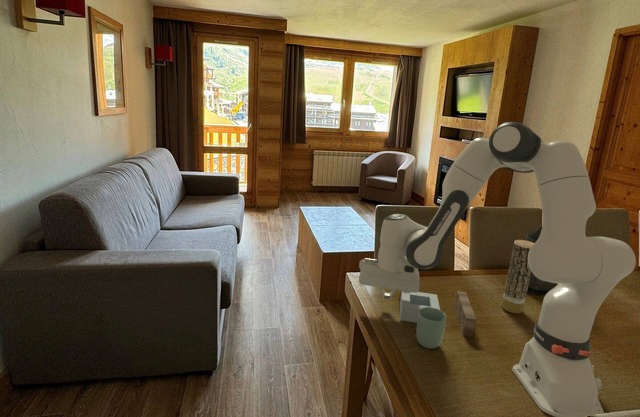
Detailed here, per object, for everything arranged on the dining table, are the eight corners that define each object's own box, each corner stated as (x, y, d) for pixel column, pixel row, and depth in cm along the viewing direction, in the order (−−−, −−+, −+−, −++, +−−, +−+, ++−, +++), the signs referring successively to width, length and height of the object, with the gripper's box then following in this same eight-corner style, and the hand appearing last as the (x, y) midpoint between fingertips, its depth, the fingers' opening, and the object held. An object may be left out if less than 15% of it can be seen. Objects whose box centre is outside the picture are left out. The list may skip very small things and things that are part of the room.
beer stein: (531, 275, 163) (543, 220, 157) (573, 297, 145) (588, 236, 139) (501, 279, 158) (512, 222, 151) (540, 302, 140) (555, 238, 134)
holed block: (438, 326, 120) (440, 312, 119) (400, 320, 122) (402, 306, 121) (434, 307, 132) (436, 294, 130) (400, 302, 134) (401, 289, 132)
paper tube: (524, 315, 130) (540, 248, 123) (503, 312, 131) (517, 245, 124) (519, 306, 136) (533, 241, 130) (499, 303, 137) (512, 238, 131)
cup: (437, 356, 105) (442, 324, 103) (410, 345, 109) (415, 315, 107) (444, 342, 112) (449, 312, 109) (419, 333, 116) (423, 304, 113)
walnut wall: (473, 336, 116) (476, 319, 114) (462, 335, 116) (465, 317, 115) (463, 307, 133) (466, 292, 131) (454, 306, 133) (457, 291, 132)
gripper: (358, 260, 124) (355, 298, 127) (422, 269, 120) (417, 308, 124) (360, 253, 130) (357, 290, 133) (421, 262, 126) (416, 299, 130)
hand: (386, 298), depth 129 cm, fingers closed
